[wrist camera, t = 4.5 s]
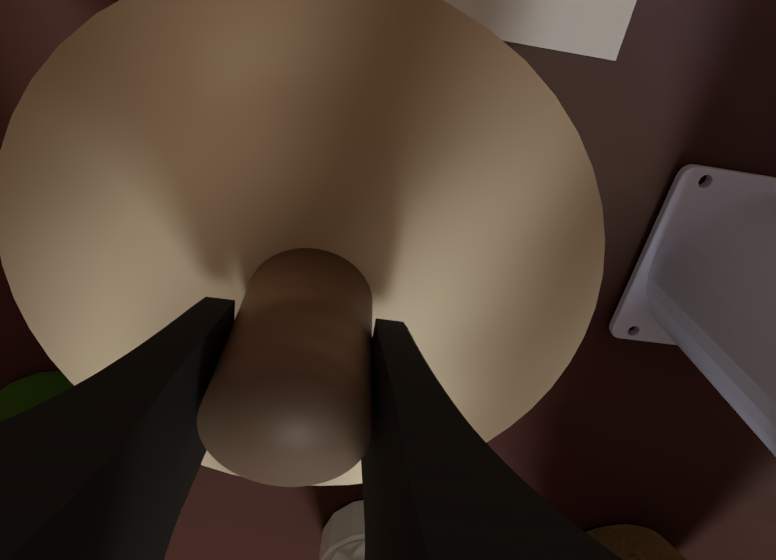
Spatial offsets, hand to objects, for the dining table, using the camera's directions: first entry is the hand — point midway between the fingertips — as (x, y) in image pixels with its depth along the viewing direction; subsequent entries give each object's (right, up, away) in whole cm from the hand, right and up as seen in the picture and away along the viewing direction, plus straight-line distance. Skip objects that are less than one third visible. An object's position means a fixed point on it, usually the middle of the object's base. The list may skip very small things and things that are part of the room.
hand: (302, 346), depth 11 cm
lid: (0, +1, +2) cm, 2 cm away
